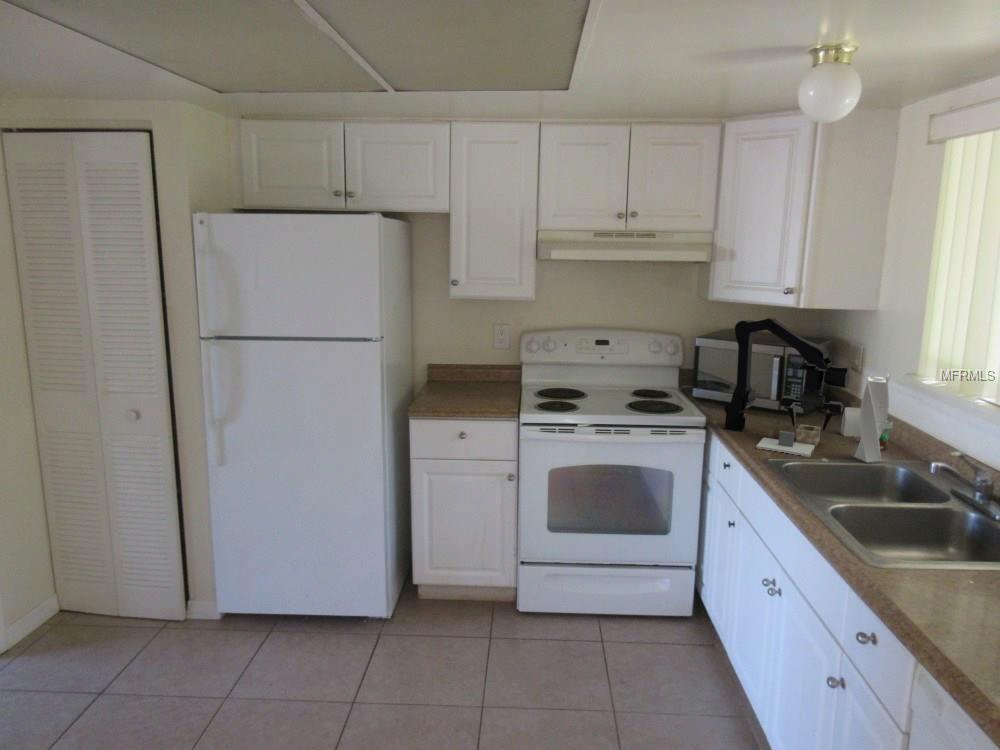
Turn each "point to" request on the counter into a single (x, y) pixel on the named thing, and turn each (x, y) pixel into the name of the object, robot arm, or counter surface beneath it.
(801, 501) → the counter surface
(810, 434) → the beige open box
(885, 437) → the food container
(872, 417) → the skyscraper
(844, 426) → the tea bag
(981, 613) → the counter surface
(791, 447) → the post stand
